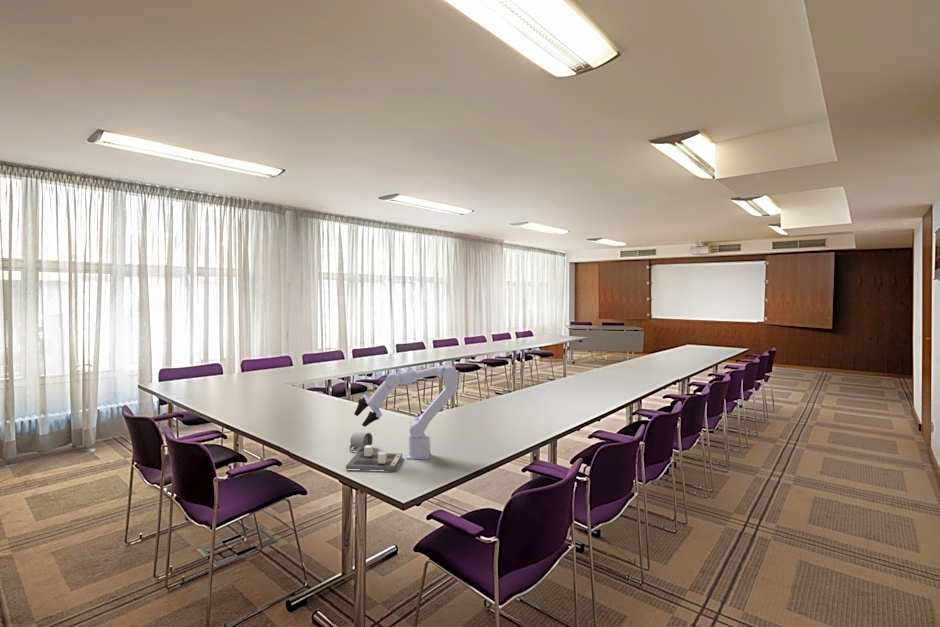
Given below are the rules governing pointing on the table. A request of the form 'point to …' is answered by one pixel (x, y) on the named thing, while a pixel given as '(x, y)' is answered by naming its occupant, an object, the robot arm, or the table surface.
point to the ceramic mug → (360, 440)
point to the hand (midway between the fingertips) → (359, 420)
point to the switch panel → (374, 462)
